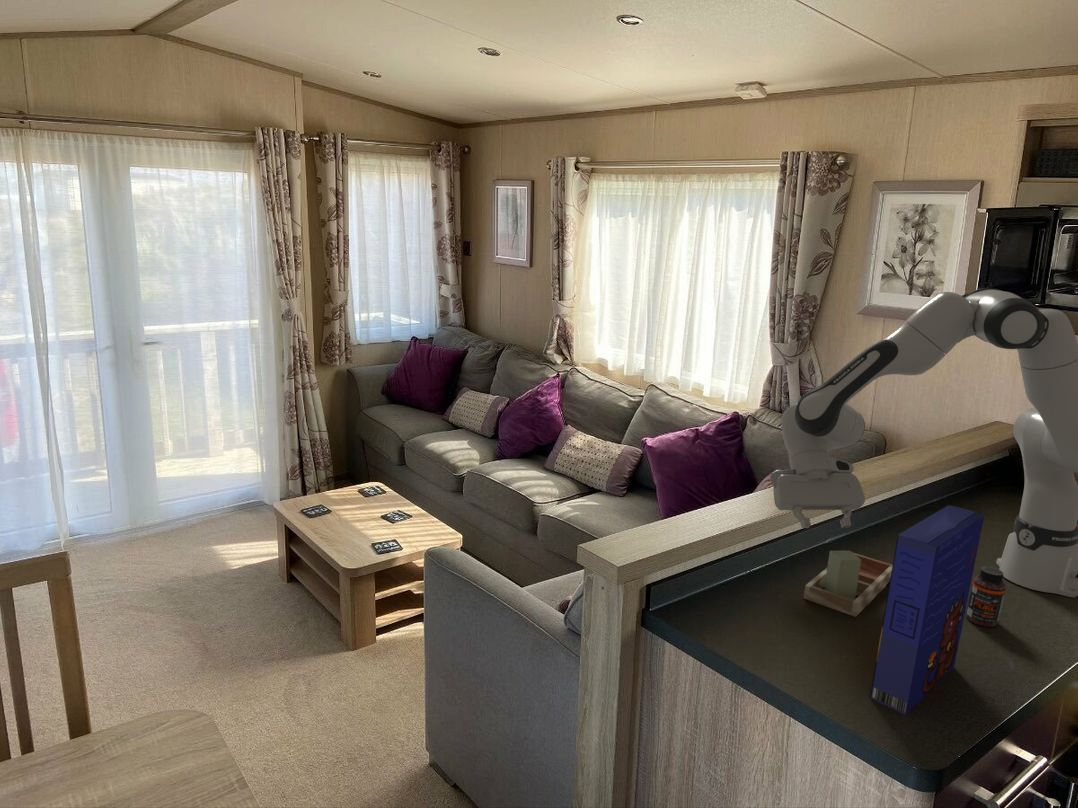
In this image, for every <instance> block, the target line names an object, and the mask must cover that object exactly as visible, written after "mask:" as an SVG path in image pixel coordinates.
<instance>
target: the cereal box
mask: <svg viewBox="0 0 1078 808" xmlns="http://www.w3.org/2000/svg"><path fill="white" fill-rule="evenodd" d="M984 519H985V515H983V514H980V513H979V512H976V511H973V510H970V509H966V508H963V507H958V506H953V505H949V504H948V505H946V506H945V507H942V508H941V509H939V510H938V511H936V512H935V513H933V514H931V515H929V516H928V517H926V518H924V519H923V520H921V521H919V522H917V523H916V524H913V526H910V527H909V528H908V529H906V530H904V531H902V532H900V533H899V534H897V538H896V544H895V549H894V554H893V560H892V565H893V566H892V572H891V578H890V583H889V584H888V589H887V590H888V591H887V596H886V603H885V609H884V613H883V620H882V624H881V625H882V626H881V630H880V631H881V633H880V637H879V641H878V642H879V643H878V648H877V654H876V659H875V666H874V672H873V678H872V684H871V689H870V695H869V699H870V698H871V699H870V700H872V699H873V701H875V702H877V703H879V704H881V705H883V706H886V707H887V706H888V708H889V707H890V709H891V708H892V709H891V710H894V711H896V712H898V713H900V714H902V715H904V716H906V715H907V714H908V713H909V712H910V711H912V709H913V708H914V707H915V706H916V705H918V703H919V702H920V701H922V700H923V699H924V697H925V696H927V695H928V694H929V693H930V692H931V691H932V690H933V689H934V688H935V687H936V686H937V685H938V684H939V683H940V682H941V681H942V680H943V679H944V678H945V677H947V675H948V674H949V673H950V672H951V671H953V669H955V667H956V666H955V664H956V659H957V655H958V650H959V644H960V640H961V633H962V629H963V625H964V619H965V616H966V611H967V606H968V601H969V596H970V591H971V586H972V581H973V573H974V568H975V564H976V559H977V554H978V549H979V544H980V540H981V534H982V529H983V525H984ZM940 680H941V681H940ZM938 682H939V683H938ZM937 683H938V684H937ZM935 685H936V686H935ZM934 686H935V687H934ZM933 687H934V688H933ZM932 688H933V689H932ZM931 689H932V690H931ZM929 691H930V692H929ZM926 694H927V695H926Z"/></svg>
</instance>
